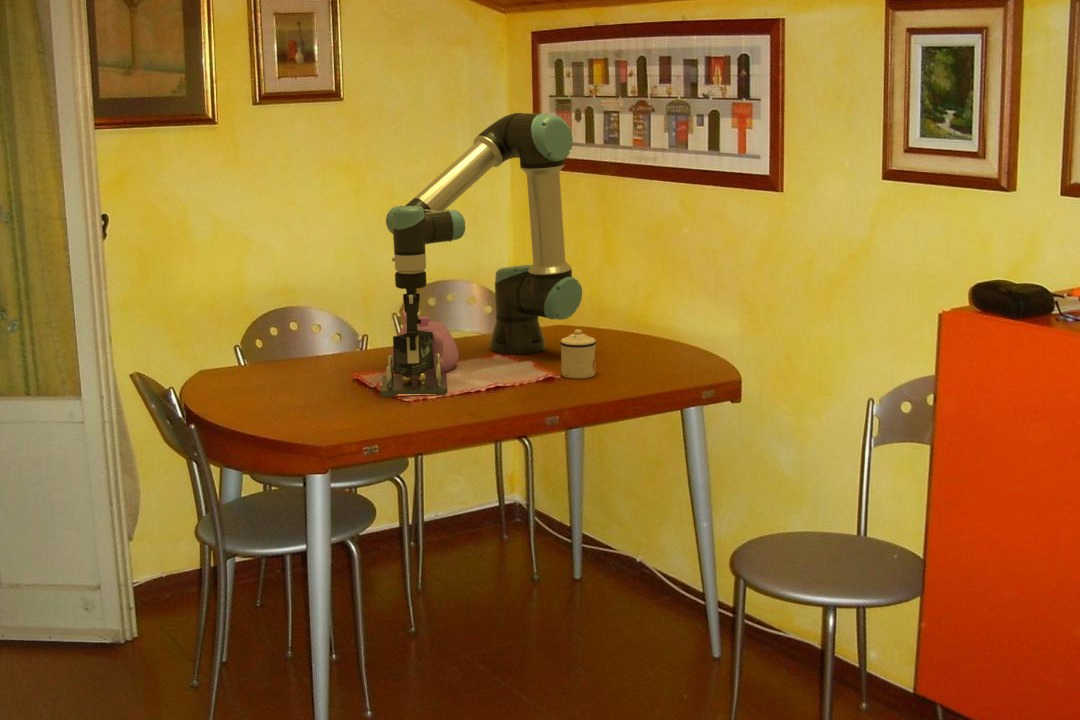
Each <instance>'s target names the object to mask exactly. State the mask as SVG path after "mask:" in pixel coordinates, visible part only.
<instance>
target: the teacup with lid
mask: <svg viewBox="0 0 1080 720" xmlns="http://www.w3.org/2000/svg"><path fill="white" fill-rule="evenodd" d="M559 344H560V347H561V348H560V349H561V350H560V353H561V354H560V355H561V356H560V358H561V359H560V361H561V363H560V365H561V366H560V367H561V370H560V371H561V372H560V374H561V375H562V376H563V377H564V378H567V379H576V380H577V379H579V380H580V379H581V380H582V379H588V378H589V379H590V378H592V377H594V376H595V375H596V344H597V341H596V339H595V338H594V337H592V336H589V335H587V334H585V333H583V331H582V329H575V330H574V331H573V333H570V334H569V335H568V336H566V337H565V336H564V337H562V338H561V340H560V342H559Z"/></svg>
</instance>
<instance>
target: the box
mask: <svg viewBox="0 0 1080 720" xmlns="http://www.w3.org/2000/svg"><path fill="white" fill-rule="evenodd" d="M417 332H418V346H419V363H408V356H407V337H404V334H403V335H399V336H398V335H394V336H392V342H393V343H392V344H393V345H392V347H393V353H394V365H393V375H407V376H412V375H415V374H418V373H422V372H424V371H428V370H431V369H434V360H433V332H427V331H419V330H417Z"/></svg>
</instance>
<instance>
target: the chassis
mask: <svg viewBox="0 0 1080 720" xmlns="http://www.w3.org/2000/svg"><path fill="white" fill-rule="evenodd" d="M435 360H436V365H435V367H436V373H435V374H426V371H424V372H422V373H418V374H415V375H412V376H407V375H401V374H394V365H393V355H391V354H389V355H387V365H386V367H385V368H386V374H383V375H382V380H381V387H380V398H392V397H393V398H394V397H395V396H396V395H398V394H446V393H448V376H447V375H448V374H447V372H442V373H441V366H440V354H439V353H437V354H435Z"/></svg>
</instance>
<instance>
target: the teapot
mask: <svg viewBox="0 0 1080 720" xmlns="http://www.w3.org/2000/svg"><path fill="white" fill-rule="evenodd" d="M402 316H403V326H402V327H401V329H400V330H399V332H398V334H397V336H399V335H403V334H406V333H407V317H406V313H405V309H403V310H402ZM418 319H421V324H419V331H427V332H433V360H434V369H431V370H428V371H426V374H435V373H436V367H435V365H436V360H435V354H437V353H439V354H440V366H441V373H447V372H448V371H451V370H452V369H453V368H454V367H455V366H456V365H457V363H458V361H459V359H460V356H459V355H460V354H459V350H458V348H457V347H458V346H457V343H456V341H455V339H454V337H453V336H452V334H451V332H450V331H449V329H448V328H447V326H445V324H443V323H442V322H439V321H430V320H431V317H430V316H428V315H421V316H419V315H418ZM390 355H393V366H394V353H393V346H392V347H391V352H390Z"/></svg>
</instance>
